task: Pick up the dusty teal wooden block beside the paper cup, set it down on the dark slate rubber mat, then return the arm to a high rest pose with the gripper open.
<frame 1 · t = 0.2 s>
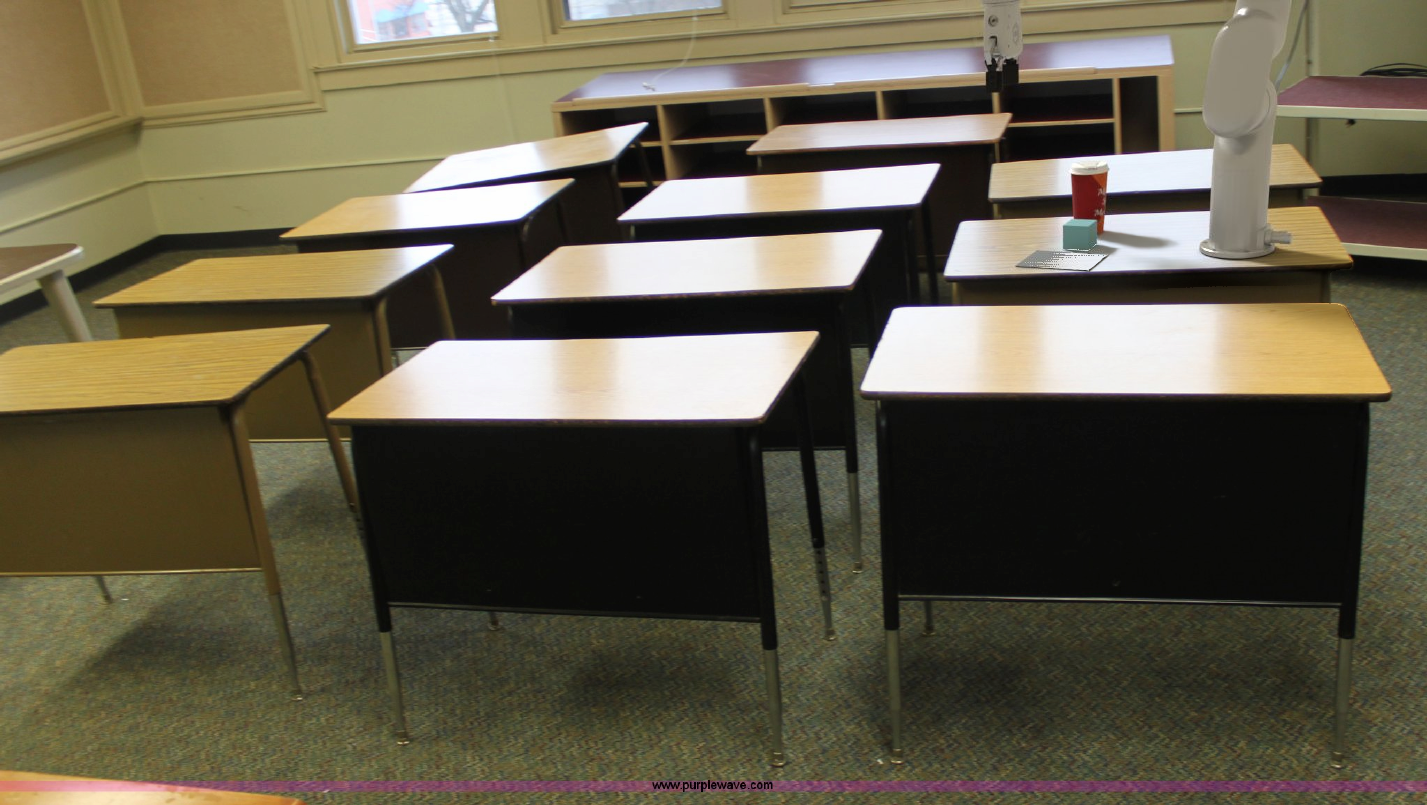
hand: (1002, 88, 222), 31 cm above the table, tool pointing down, fingers open, 9 cm apart
teal block: (1079, 247, 222), on the table
slate mat: (1061, 260, 215), on the table
paper cup: (1088, 233, 231), on the table
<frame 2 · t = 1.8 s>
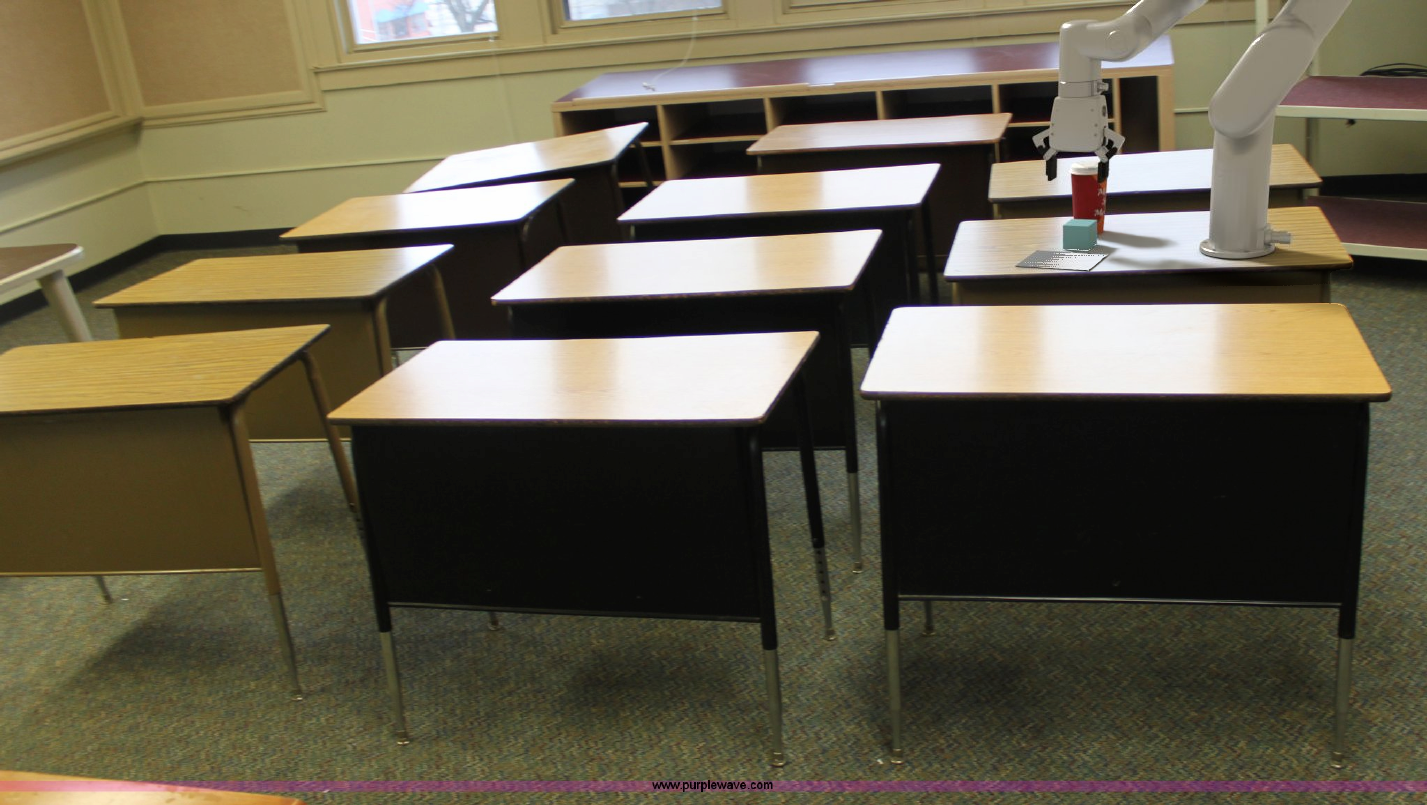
hand: (1076, 180, 218), 13 cm above the table, tool pointing down, fingers open, 9 cm apart
nothing on the table moved.
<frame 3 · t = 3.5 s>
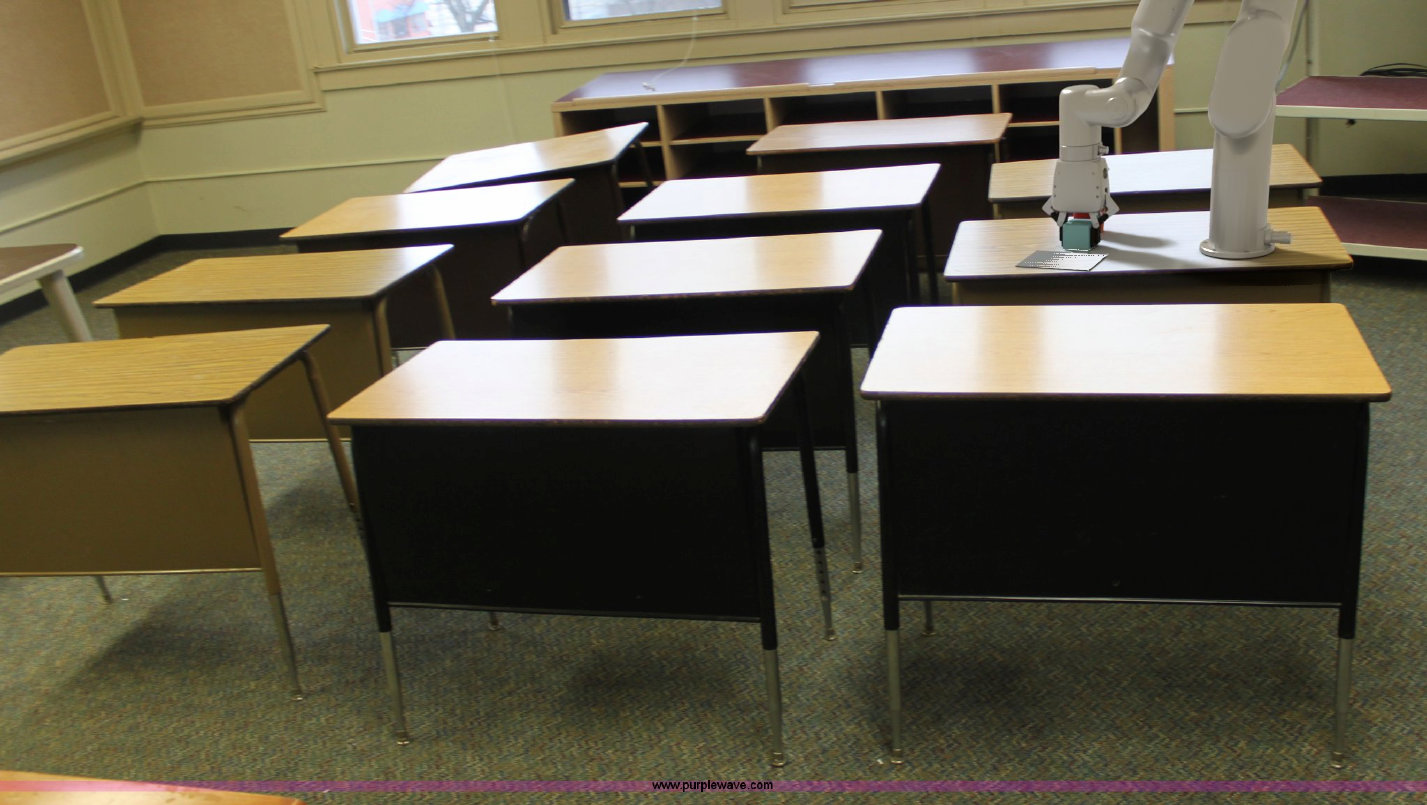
hand: (1079, 244, 222), 0 cm above the table, tool pointing down, fingers closed on teal block, 5 cm apart
teal block: (1080, 247, 222), on the table, touching gripper
everything else where it was.
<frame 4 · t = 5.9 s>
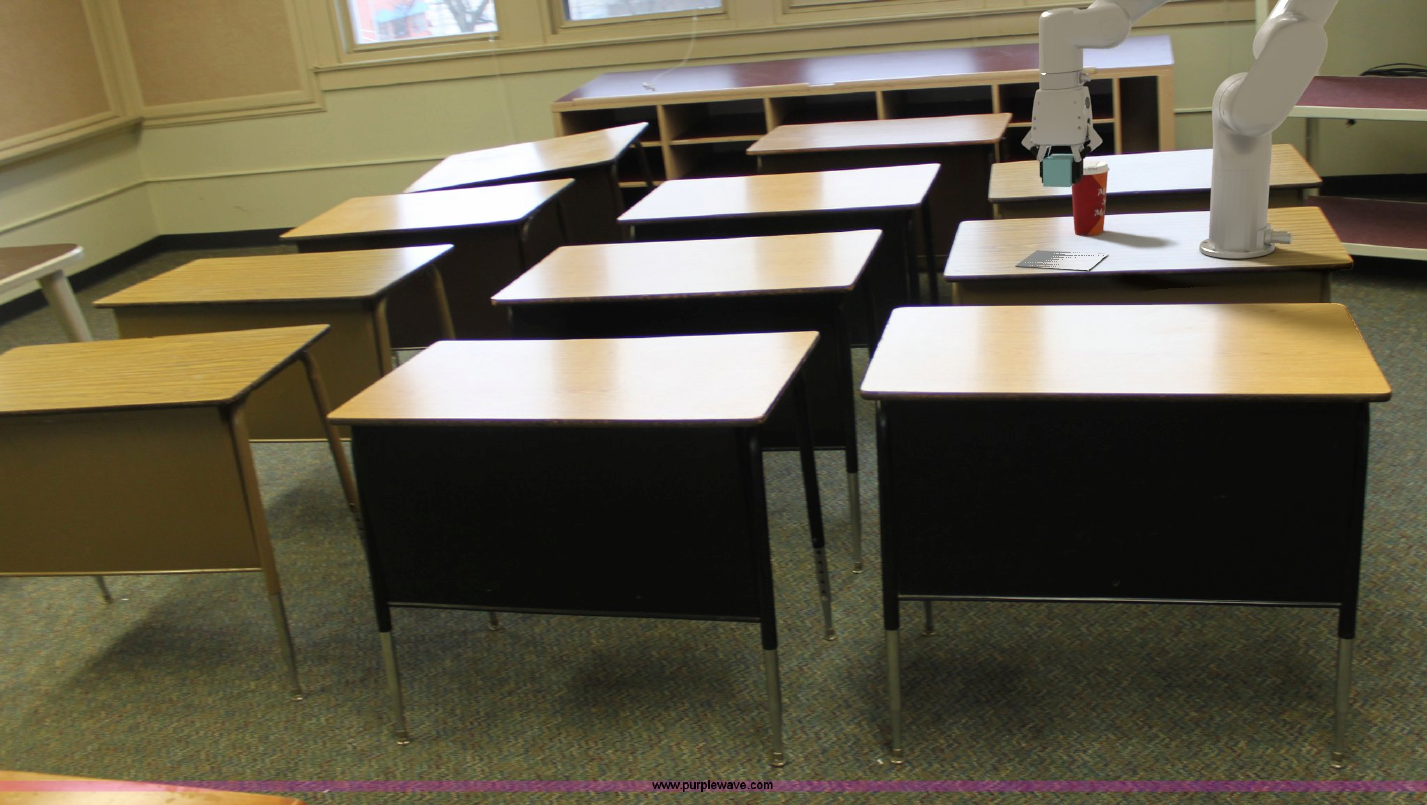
hand: (1061, 180, 209), 15 cm above the table, tool pointing down, fingers closed on teal block, 4 cm apart
teal block: (1061, 183, 209), point 15 cm above the table, touching gripper
everything else where it was.
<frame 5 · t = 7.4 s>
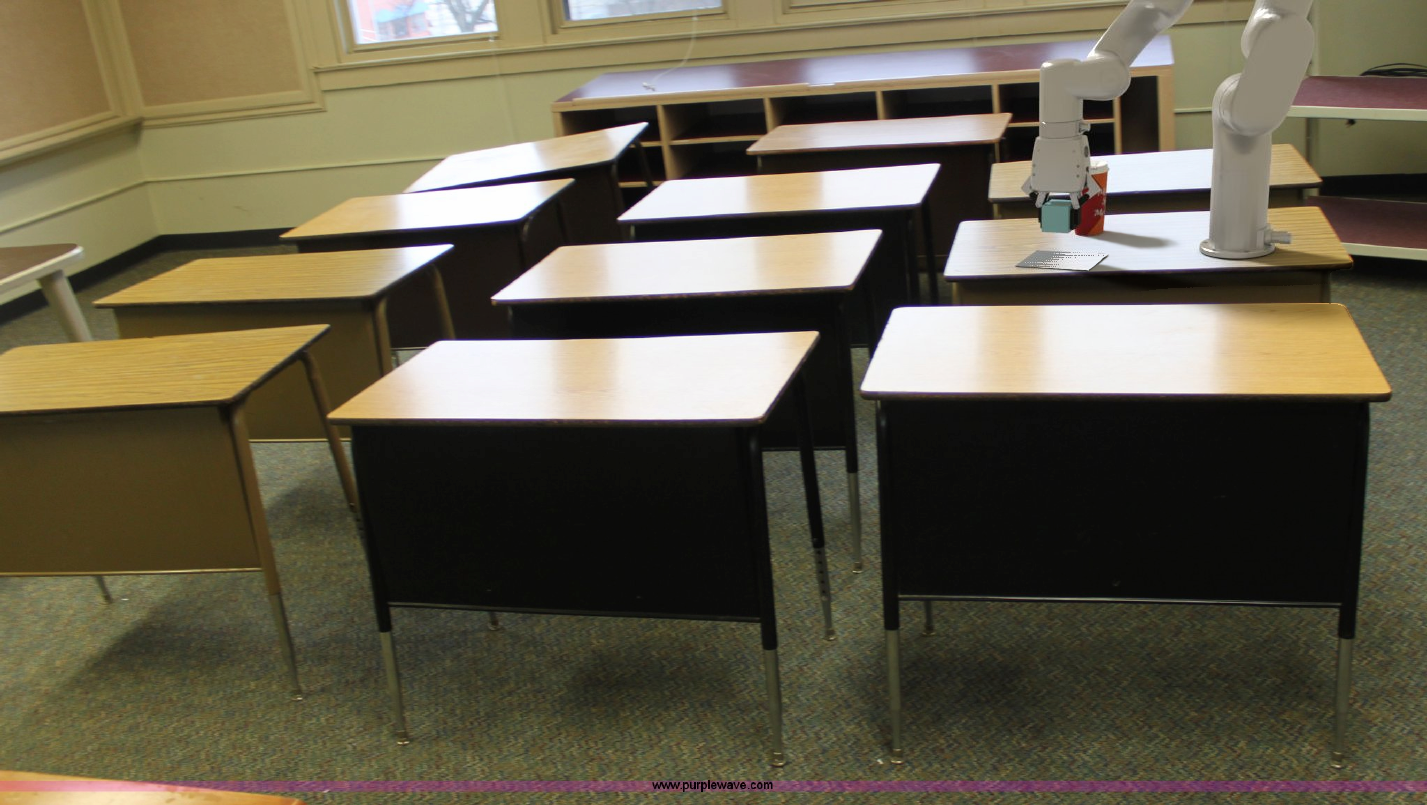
hand: (1059, 226, 212), 7 cm above the table, tool pointing down, fingers closed on teal block, 4 cm apart
teal block: (1059, 229, 213), point 6 cm above the table, touching gripper
everything else where it was.
when the fingers open (2 cm above the table, at t = 8.7 s): teal block drops 1 cm, resting on slate mat.
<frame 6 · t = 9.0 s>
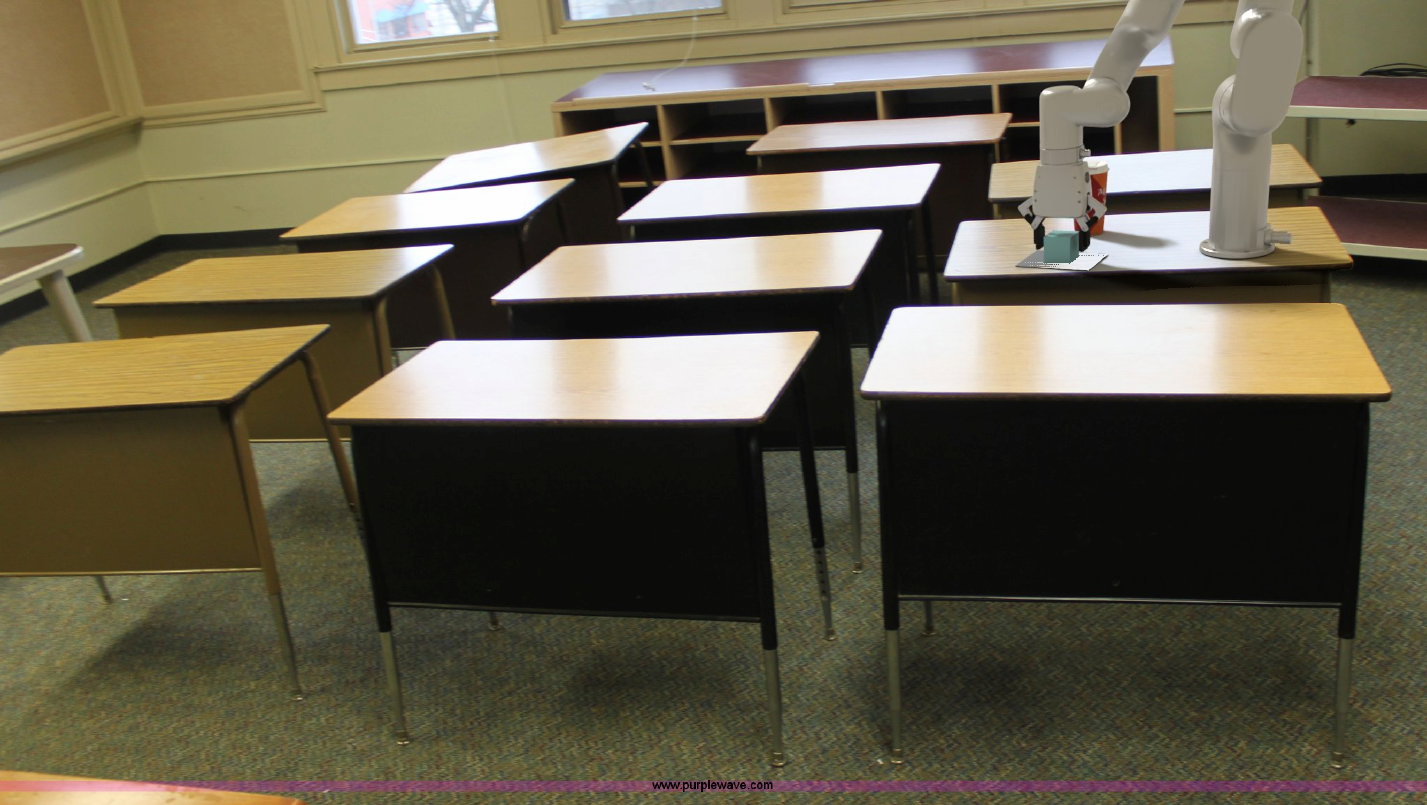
hand: (1061, 248, 214), 2 cm above the table, tool pointing down, fingers open, 7 cm apart
teal block: (1061, 259, 215), resting on slate mat
everything else where it was.
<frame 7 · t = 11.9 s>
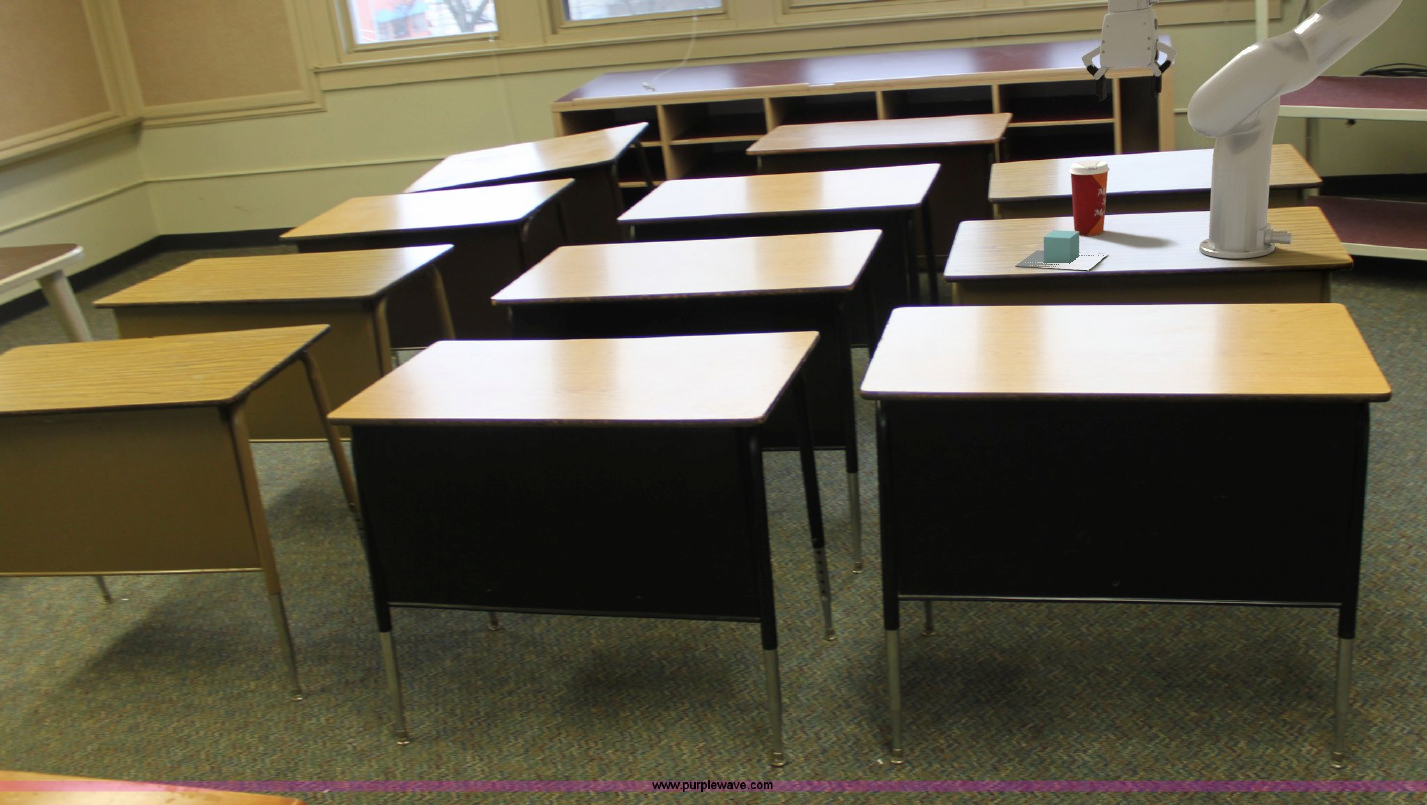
hand: (1128, 98, 216), 27 cm above the table, tool pointing down, fingers open, 9 cm apart
nothing on the table moved.
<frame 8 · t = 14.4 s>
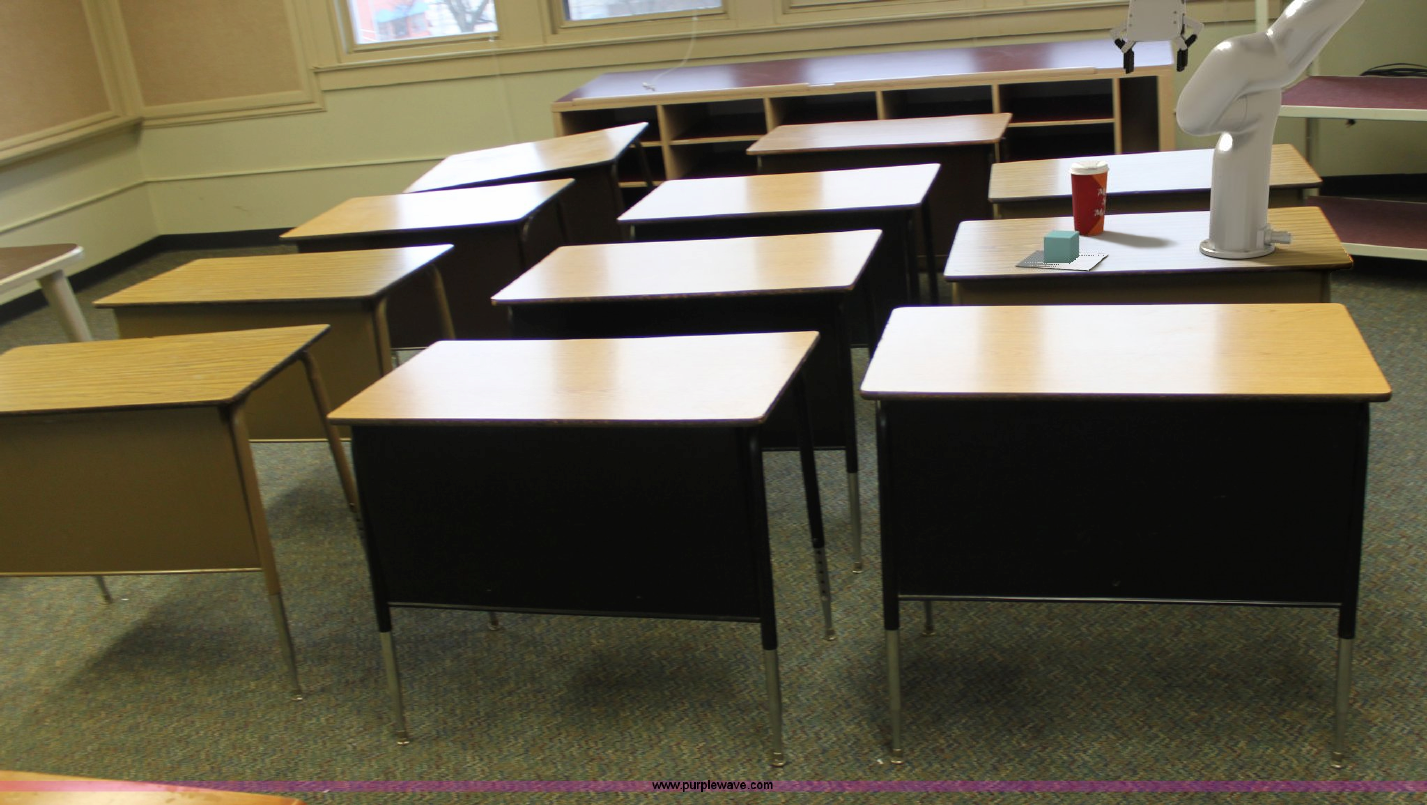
hand: (1154, 71, 220), 30 cm above the table, tool pointing down, fingers open, 9 cm apart
nothing on the table moved.
at the end: teal block inside the target area on the slate mat (0.0 cm from its centre), point 0.2 cm above the slate mat's base; teal block tilted 0°; the gripper is holding nothing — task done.
